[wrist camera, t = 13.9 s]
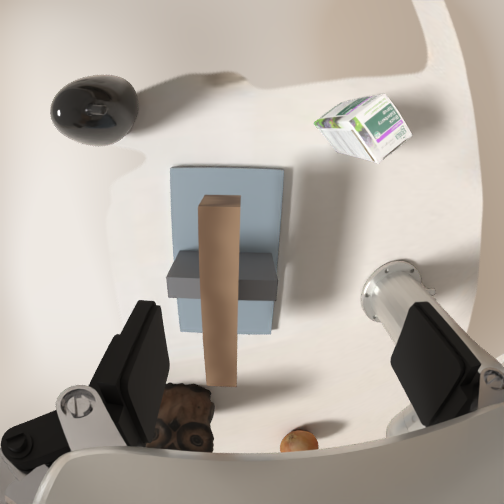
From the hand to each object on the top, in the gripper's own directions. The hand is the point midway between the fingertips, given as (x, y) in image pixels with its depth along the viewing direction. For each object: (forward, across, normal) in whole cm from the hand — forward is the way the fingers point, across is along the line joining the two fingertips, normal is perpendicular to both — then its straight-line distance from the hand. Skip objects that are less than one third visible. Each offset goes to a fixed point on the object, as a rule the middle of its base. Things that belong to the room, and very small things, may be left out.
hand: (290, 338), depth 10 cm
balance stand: (+34, +4, +12) cm, 37 cm away
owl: (+34, +14, +47) cm, 60 cm away
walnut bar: (+24, +4, +12) cm, 27 cm away
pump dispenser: (+34, +21, -11) cm, 42 cm away
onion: (+34, -14, +62) cm, 72 cm away
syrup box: (+34, -12, -9) cm, 38 cm away
